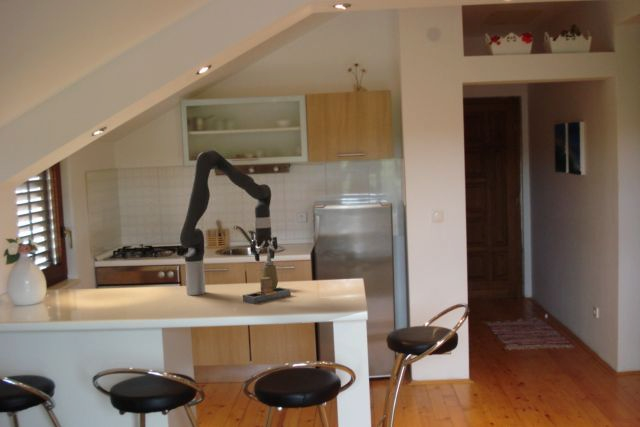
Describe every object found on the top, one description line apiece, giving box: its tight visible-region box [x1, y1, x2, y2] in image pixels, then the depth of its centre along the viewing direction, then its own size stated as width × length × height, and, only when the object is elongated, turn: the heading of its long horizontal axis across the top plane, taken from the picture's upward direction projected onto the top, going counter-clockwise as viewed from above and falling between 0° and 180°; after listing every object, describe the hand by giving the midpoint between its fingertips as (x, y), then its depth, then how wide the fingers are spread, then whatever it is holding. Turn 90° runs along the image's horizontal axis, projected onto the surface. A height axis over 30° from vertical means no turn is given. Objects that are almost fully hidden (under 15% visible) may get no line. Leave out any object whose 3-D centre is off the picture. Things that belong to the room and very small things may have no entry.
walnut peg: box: [259, 277, 273, 294], centre depth 339 cm, size 4×4×10 cm
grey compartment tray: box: [242, 287, 292, 305], centre depth 340 cm, size 9×22×3 cm, turn 131°
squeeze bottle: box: [262, 253, 279, 289], centre depth 360 cm, size 8×8×18 cm
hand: (264, 259), depth 338 cm, fingers open, 8 cm apart
